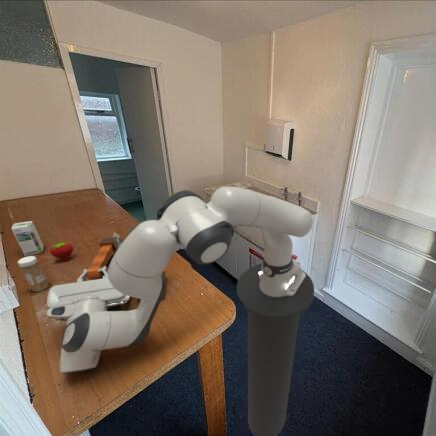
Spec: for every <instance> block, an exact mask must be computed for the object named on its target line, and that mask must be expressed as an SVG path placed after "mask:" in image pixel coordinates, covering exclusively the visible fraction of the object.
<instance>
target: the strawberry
mask: <svg viewBox="0 0 436 436" xmlns="http://www.w3.org/2000/svg"><path fill="white" fill-rule="evenodd" d="M56 243H57V244H54V245H51V246H50V247H51V248H50V250H49V254H51V256H52V257H55V258H57V259H60V260H63V261H67V260H68V259H69V257H70V256H71V255H72V253H73V252H74V246H73V244H70V243H66V242H58V241H57V242H56Z"/></svg>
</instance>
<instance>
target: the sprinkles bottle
mask: <svg viewBox="0 0 436 436" xmlns="http://www.w3.org/2000/svg"><path fill="white" fill-rule="evenodd" d="M17 265H18V266H19V267H20V269H21V271H22V272H23V275H24V277H25V279H26V280H27V282H28V285H30V288H31V290H32V292H36V293H37V292H41V291H43V290H46V289H47V288H49V285H50V284H49V283H48V281H47V279H46V276H45V274H44V272H43V270H42V268H41V266H40V264H39V262H38V259H37V257H36V256H35V255H28V256H24V257H21V258H20V259H18V260H17Z"/></svg>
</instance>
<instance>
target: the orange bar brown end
mask: <svg viewBox="0 0 436 436" xmlns="http://www.w3.org/2000/svg"><path fill="white" fill-rule="evenodd" d="M118 246H119V244H118V241H117V237H113V236H111V237H103V238H101V240H100V241H99V247H100V249H99V250H98V252H97V254H96V255H95V257H94V259H93V261H92V262H91V264H90V265H89V267H88V268H87V269H88V270H87V275H88V276H87V278H88V280H91V279H95V278H100V277H101V275H102V273H101V272H100V268H101V267H104V266H106V265H107V264H108V262H109V260H110V258H111V256H112V255H113V254H114V253H115V252H114V251H116V250H117V248H118Z"/></svg>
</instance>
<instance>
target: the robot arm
mask: <svg viewBox="0 0 436 436" xmlns="http://www.w3.org/2000/svg"><path fill="white" fill-rule="evenodd" d="M313 223H314V219H313V215H312V213H311V212H310V211H309V210H308V209H306V208H304V207H303V206H300V205H298V204H295V203H293V202H289V201H287V200H284V199H282V198H279V197H275V196H273V195H268V194H264V193H261V192H258V191H255V190H252V189H249V188H245V187H240V186H228V185H227V186H221V187H219V188H217V189H216V190H215V191H214V192H213V193H212V194H211V197H210V201H209V202H207V203H206V202H205V201H204V198H202V197H201V196H200V195H199V194H197V193H196V192H194V191H192V190H188V189H187V190H180V191H177V192H175V193H173V194H171V196H169V197H168V198H167V199H166V200H165V201H164V202H163V204H162V206H161V207H160V208H158V210H157V213H156V219H149V220H144V221H142V222H140V223H139V224H138V225H137V226H135V227H136V228H135V229H134V230H133V231H132V232H131V233H130V234H129V235H128V234H127V235H128V236H126V237H127V238H125V239H124V240H123V243H122V244H121V245H120V247H119V248H118V250H117V252H114V254H115V255H114V256H113V258H112V260H111V262H110V265H109V268H107V267H106V266H104V267H101V268H100V272H101V273H104V274H105V275H104V276H103V279H96V280H91V279H88V280H86V279H87V278H88V275H87V270H88V268H84V269H83V271H82V274H81V275H80V276H79V277H78V278H77V279H76V282H69V283H62V284H55V285H53V286H52V287H50V288H49V290H48V292H47V297H46V306H47V308H48V309H47V311H46V314H45V315H46V316H47V317H49V318H50V319H53V320H55V321H59V322H66V326H65V328H64V330H63V334H62V339H61V343H60V347H61V349H60V357H59V372H60V374H63V375H70V374H76V373H82V372H87V371H91V370H93V369H96V367H97V366H98V364H99V360H100V357H101V353H102V351H105V350H111V349H112V350H113V349H119V348H135V347H138V346H139V345H141V344H142V343H143V342H144V341H145V340H146V339H147V337H148V336H149V333H150V331H151V327H152V323H153V320H154V318H155V316H156V313H157V310H158V308H159V306H160V304H161V301H162V300H163V299H162V297H163V294H164V295H165V291H166V285H167V284H166V283H167V282H166V283H165V277H164V276H163V275H162V272H163V271H165V270H166V268H167V266H168V264H169V263H170V261H171V259H172V257H173V255H174V254H175V253H176V252H177V251H178V250H179V249H181V248H183V249H184V250H185V253H186V255H187V256H188V257H189V258H190V259H191V260H192V261H193V262H195V263H196V264H197V265H210V264H212V263H215V262H217V261H219V260H220V259H222V258H223V257H225V255H226V254H227V252H228V250H229V249H230V246H231V244H232V239H233V238H234V235H235V229H234V226H238V227H247V228H256V229H259V230H260V232H261V235H262V238H263V239H262V240H263V247H264V250H263V257H262V263H263V264H262V269H261V272H259V279H260V283H259V287H260V290H261V291H262V292H263V293H264V294H266V295H268V296H271V297H282V296H294V295H295V293H296V291H297V290H298V288H299V287H300V285H301V284H302V282H303V281H304V279H305V277H306V274H307V273H306V272H305V271H304V270H303V269H302V266H301V263H299V262H298V261H297V259H298V255H296V254H293V249H294V248H293V247H294V245H293V244H294V243H293V240H292V237H296V238H297V237H298V238H303V237H305V236H307V235H308V234H309V233H310V232H311V230H312V228H313V225H314V224H313ZM291 236H292V237H291ZM107 270H108V272H107ZM302 270H303V271H304V272H305V273H306V274H305V273H304V272H303V271H302ZM130 296H131V297H130ZM131 298H135V299H138V298H139V299H141V301H140V304H139V303H138V306H137V308H134V309H129V310H126V311H107V308H108V307H113V306H117V305H123V304H124V303H126V302H127V301H128V300H129V299H130V300H131ZM161 299H162V300H161ZM130 300H129V301H130ZM124 301H125V302H124Z"/></svg>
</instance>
